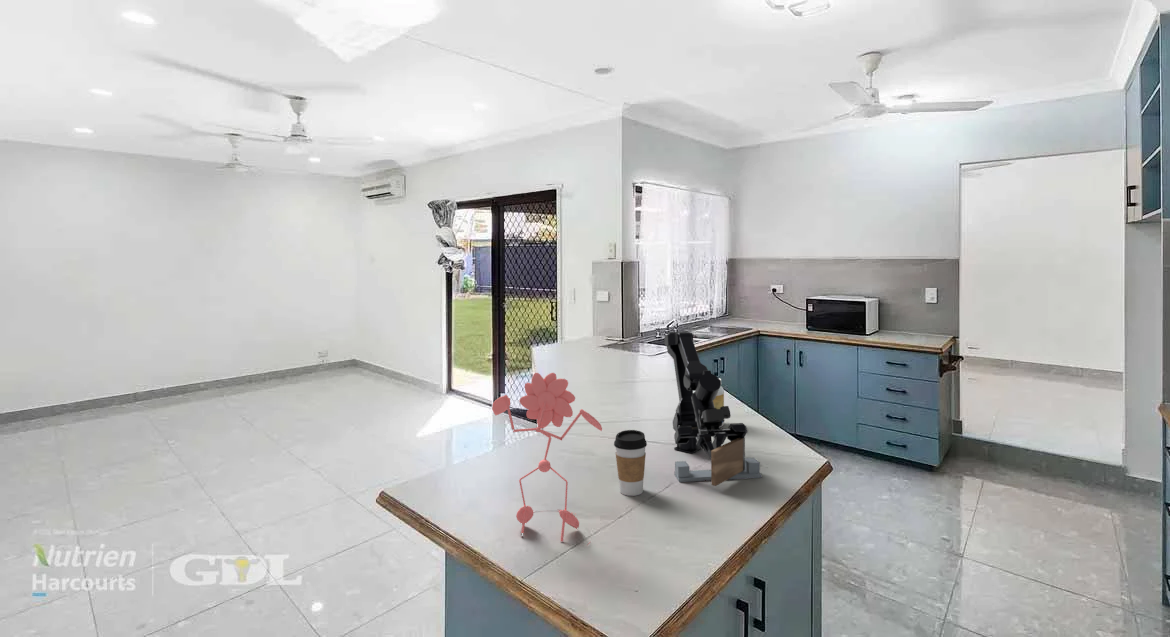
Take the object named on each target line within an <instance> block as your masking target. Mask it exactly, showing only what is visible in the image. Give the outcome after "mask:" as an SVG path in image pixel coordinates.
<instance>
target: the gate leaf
mask: <svg viewBox="0 0 1170 637" xmlns="http://www.w3.org/2000/svg"><path fill="white" fill-rule="evenodd" d="M745 458H746V437H744V438H741V437H739V438H737V439H735V440H733V441H728V442H726V443H725V444H724V443H723V444H722V445H721V446H720V447H718V448H716V449H714V450H712V451H711V458H710V460H711V462H710V467H711V468H710V470H711V480H710V481H711V483H710V484H711V486H714V487H717V486H718V485H720V484H723V483H724V482H726V481H727V480H730V479H729V478H731V477H733V476H735V475H736V474H738V473H740V472H742V471H744V470H745Z"/></svg>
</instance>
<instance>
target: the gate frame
mask: <svg viewBox="0 0 1170 637" xmlns="http://www.w3.org/2000/svg"><path fill="white" fill-rule="evenodd" d="M760 464H761V463H760V461H759V460H758V459H756V457H745V470H744V471H742V472H740V473H738V474H736V475H735V476H733V477H731V478H729V479H728V480H740V479H760V478H762V473H761V471H760V470H761V469H760V468H761V466H760ZM674 477H675V478H676V480H677V481H678V482H679V483H684V482H685V483H687V482H704V481H705V480H706V481H708V482H709V481H711V469H699V470H690V465H689V464H688V462H687V461H686V460H682V461H681V460H680V461H674Z"/></svg>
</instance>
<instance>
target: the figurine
mask: <svg viewBox="0 0 1170 637" xmlns="http://www.w3.org/2000/svg"><path fill="white" fill-rule="evenodd" d="M568 386H569V381H568V380H567V379H565V378H557V374H556V373H555V372H551V373H550V372H549V373H547V375H546V376H545V377H543V376H542V375H541V374H540V373H539V372H534V374H532V378H531V383H530V382H526V383H525V384H524V391H525V393H526V395H524V396H521V397H520V398H519V404H520V405H521V406H522V407H523V408H525V409H527V410H526V414H525V415H526V418H527V419H529V420H536V424H537V427H532V428H531V427H529V428H517V429H515V426H514V421H513V418H512V413H511V409H510V406H511V397H509V396H508V394H505V395H502V396H499V397H498V398H496V399H495V400H494V401H493V403H492V407H491V410H492V412H493V414H494V415H495V416H498V415H501V414H503V413H505V412H507V414H508V418H509V422H510V426H511V430H512V431H513V433H517V432H530V431H531V432H532V431H535V432H536V433H541V434H543V435H544V436H545V437H546V438H548V440H547V445H546V449H545V455H544V458H543V459H542V460H540V461H539V462H538V465H537V467H536V468H535V469H533V470H531V471H530V472H528V473H526V474H525V475H524V476H522V477H520V478H519V480H518V481H519V486H520V488H519V489H520V491H521V498H522V502H523V506H521V507H520V508H519V509H518V510H517V511H516V520H517V522H519V523H520V524H521V523H522V524H521V525H522V526H521V532H520V534H521V533H524V534H525V527H526V524H527V523H529V521H530V520H532V518H533V516H534V512H533V511H534V509H533V507H532V506H530V505H526V500H525V496H524V490H523V486H522V480H523V479H525V478H527V477H528V476H530V475H532V474H533V473H534V472H536V471H540V472H541V473H547V472H549V471H550V470H551V471H553V473H555V474H556V475H557V476H558V477H559V478H560V479H562V480H563V481H564V482H565V494H564V495H565V496H564V498H565V499H564V509H559V510H558V513H559V517H560V518H561V520H562V523H561V524H562V525H561V533H560V542H563V541H564V536H565V535H564V534H565V526H566V525H565V524H567V525H569V526H570V527H572V528H574V529H576V530H578V529H577V528H579V527H580V521H579V519H578V518H577V517H576V515H575V514H573V512H571V511H569V510H567V508H568V507H567V505H568V487H569V486H568V483H569V482H568V480H567V479H565V478H564V477H563V476H562V475H561V474H560V473H558V471H557V470H555V469H554V468H553V467H552V466H551V462H550V461H549V460H547V457H548V453H549V449H550V445H551V441H552V437H553V438H554V439H557V440H559V441H563V440H564V438H565V436H566V435H567V434H568V433H569V431H570V430H571V429H572V428H573V426H574V425H575V423H576V422H577V421H578V419H579V418H580V417H583V418H584V420H585V421H586V422H587V423H589V424H590V425H591V426H593V427H594V428H596V429H597V430H599V431H600V432H602V430H603V427H602V424H601V423H600V422H599V420H597V419H596V418H595V417H594V416H593V415H592V414H590V413H589V412H587V411H586V410H584V409H582V408H581V409H579V413H578V414H577V415H576V416H575V417H574V419H573V420H572V422H570V424H569V426H568V427H567V429H566V430H565V431H564V432H563V434H562V435H561V436H558V435H557V434H553V433H552V432H549V431H546V430H545V428H546V427H548V426H549V425H550V423H552V425H553V426H554V427H556V428H560V427H562V426H563V422H564V417H565V418H571V417H572V416H573V414H574V413H573V408H572V407H571V405H570V404H571V403H573V402H575V401H576V396H575V394H573V393H572V391H569V390H567V388H568ZM570 512H571V513H570ZM525 523H526V524H525ZM589 544H590V542H588V543H587V544H586V546H588V545H589Z"/></svg>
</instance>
